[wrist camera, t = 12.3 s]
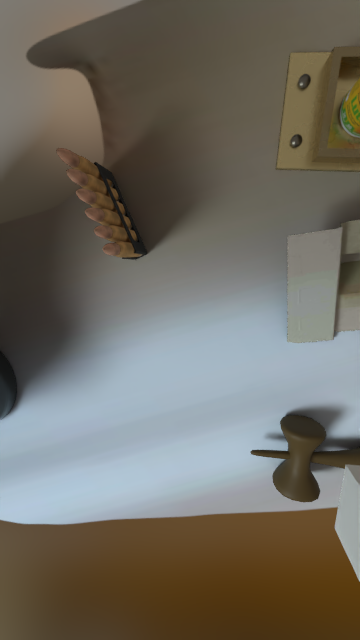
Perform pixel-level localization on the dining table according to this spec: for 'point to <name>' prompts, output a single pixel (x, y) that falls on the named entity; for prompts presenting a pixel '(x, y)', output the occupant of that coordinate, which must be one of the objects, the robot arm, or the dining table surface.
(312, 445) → the kendama
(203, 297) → the dining table surface
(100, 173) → the ammunition clip
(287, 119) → the wooden holder tray
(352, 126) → the supplement bottle
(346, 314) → the grey tablet stand
